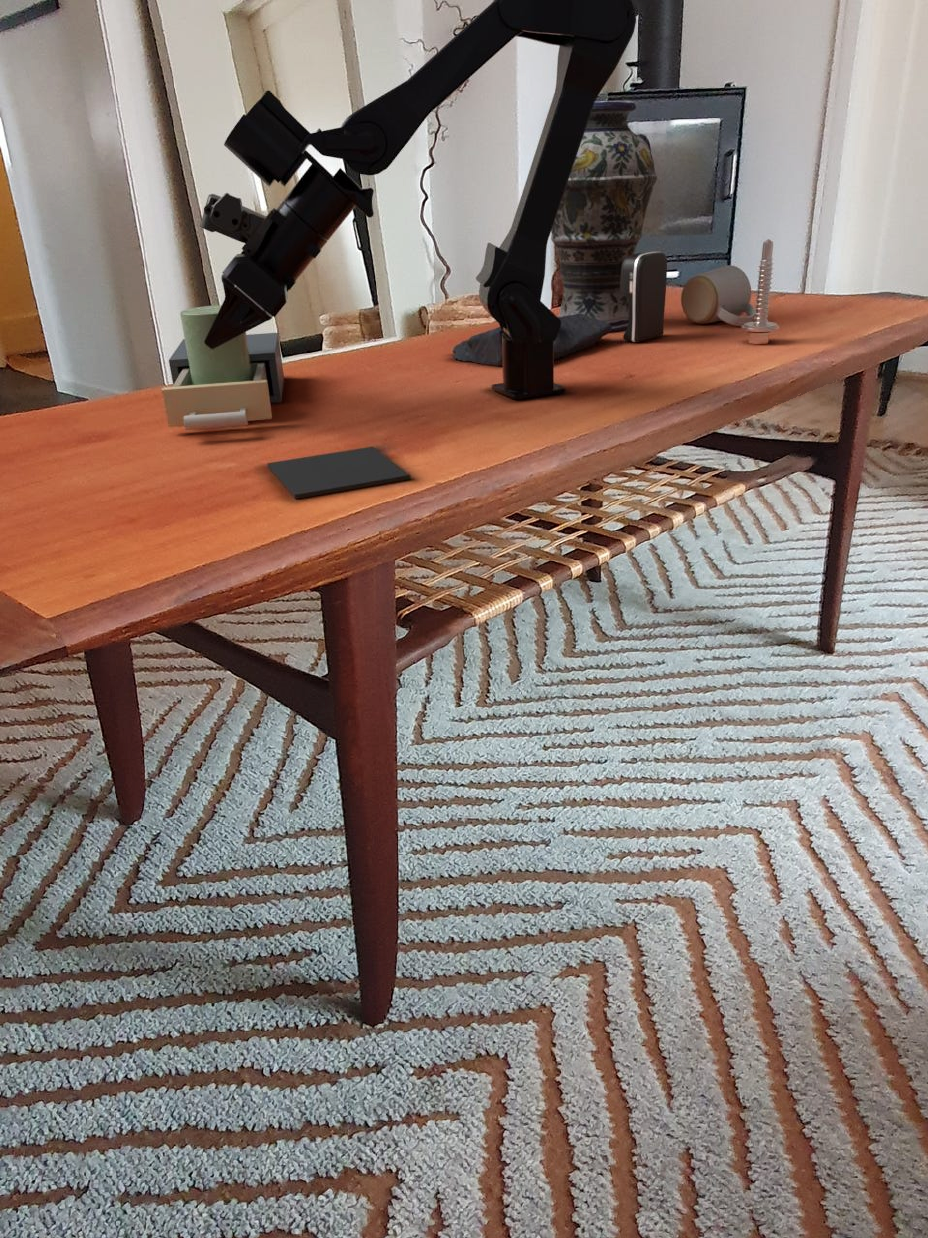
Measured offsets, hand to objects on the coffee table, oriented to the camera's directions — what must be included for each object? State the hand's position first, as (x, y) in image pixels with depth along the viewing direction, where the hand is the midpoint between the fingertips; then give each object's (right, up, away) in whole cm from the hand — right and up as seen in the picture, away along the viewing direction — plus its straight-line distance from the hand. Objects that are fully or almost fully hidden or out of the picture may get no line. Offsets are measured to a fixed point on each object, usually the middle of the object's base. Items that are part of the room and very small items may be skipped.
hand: (213, 338), depth 100 cm
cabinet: (-1, -3, +12) cm, 13 cm away
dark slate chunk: (+37, +7, +28) cm, 47 cm away
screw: (+67, +7, +27) cm, 72 cm away
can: (+1, -5, +3) cm, 6 cm away
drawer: (+1, -8, 0) cm, 8 cm away
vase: (+47, +15, +43) cm, 65 cm away
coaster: (+16, -17, -18) cm, 29 cm away
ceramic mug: (+66, +15, +42) cm, 79 cm away
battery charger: (+52, +10, +33) cm, 62 cm away
